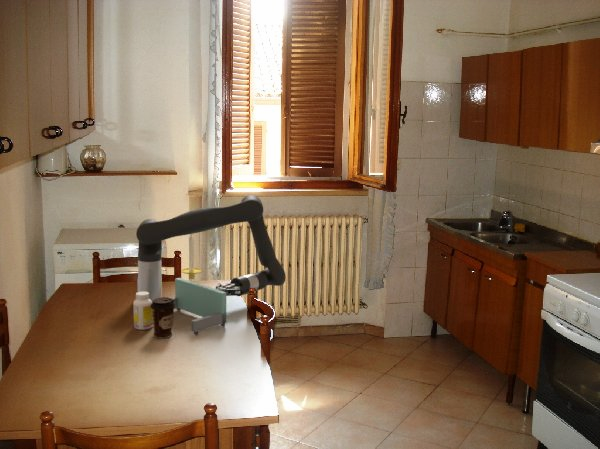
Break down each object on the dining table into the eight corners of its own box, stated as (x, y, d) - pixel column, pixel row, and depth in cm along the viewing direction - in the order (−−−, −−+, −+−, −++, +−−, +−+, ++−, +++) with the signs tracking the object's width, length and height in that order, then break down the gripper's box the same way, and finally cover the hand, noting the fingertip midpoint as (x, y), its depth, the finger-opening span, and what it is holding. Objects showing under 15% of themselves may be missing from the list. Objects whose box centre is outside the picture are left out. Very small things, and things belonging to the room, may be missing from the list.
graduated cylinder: (194, 288, 298) (194, 227, 293) (208, 293, 291) (208, 231, 286) (175, 292, 292) (174, 230, 287) (188, 297, 284) (187, 234, 279)
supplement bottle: (155, 324, 251) (154, 291, 248) (149, 330, 244) (148, 296, 242) (137, 323, 251) (136, 290, 249) (131, 329, 245) (130, 295, 242)
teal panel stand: (147, 317, 258) (146, 284, 255) (179, 309, 269) (179, 277, 266) (194, 336, 240) (193, 300, 237) (226, 326, 250) (226, 292, 248)
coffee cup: (180, 334, 242) (180, 298, 239) (166, 341, 234) (166, 304, 232) (160, 329, 245) (159, 295, 243) (146, 337, 238) (145, 301, 235)
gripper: (233, 272, 277) (200, 281, 265) (256, 278, 269) (223, 287, 256) (233, 290, 279) (200, 299, 266) (256, 297, 270) (223, 306, 258)
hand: (211, 293), depth 261 cm, fingers closed
